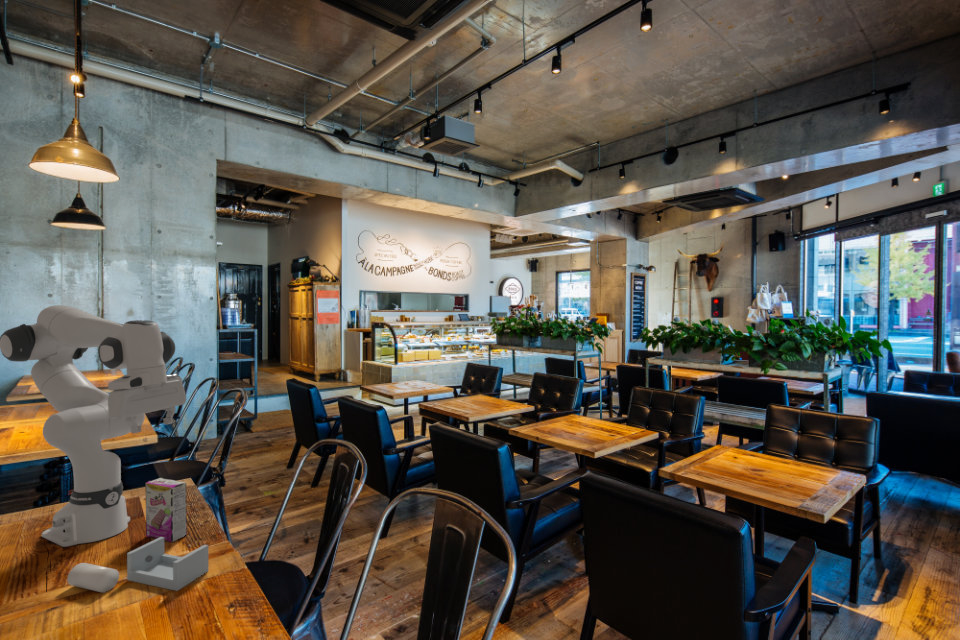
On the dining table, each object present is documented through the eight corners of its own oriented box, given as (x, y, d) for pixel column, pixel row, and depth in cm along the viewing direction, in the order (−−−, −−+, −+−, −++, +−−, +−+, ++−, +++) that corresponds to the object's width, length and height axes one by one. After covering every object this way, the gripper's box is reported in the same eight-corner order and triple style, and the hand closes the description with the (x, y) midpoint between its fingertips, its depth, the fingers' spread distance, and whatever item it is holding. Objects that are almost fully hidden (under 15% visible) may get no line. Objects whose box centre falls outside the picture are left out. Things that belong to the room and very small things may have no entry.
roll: (67, 589, 114) (67, 569, 114) (89, 578, 118) (89, 558, 118) (97, 597, 111) (97, 575, 111) (119, 585, 116) (119, 565, 115)
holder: (127, 580, 117) (127, 553, 117) (161, 562, 126) (160, 536, 126) (177, 590, 113) (176, 562, 113) (208, 571, 122) (208, 545, 122)
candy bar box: (144, 537, 140) (144, 482, 140) (160, 530, 145) (160, 477, 145) (171, 543, 136) (171, 487, 136) (187, 535, 141) (187, 481, 141)
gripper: (172, 373, 141) (177, 419, 141) (101, 385, 121) (107, 438, 121) (188, 372, 139) (194, 418, 139) (119, 383, 119) (125, 437, 119)
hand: (153, 428), depth 130 cm, fingers open, 8 cm apart
